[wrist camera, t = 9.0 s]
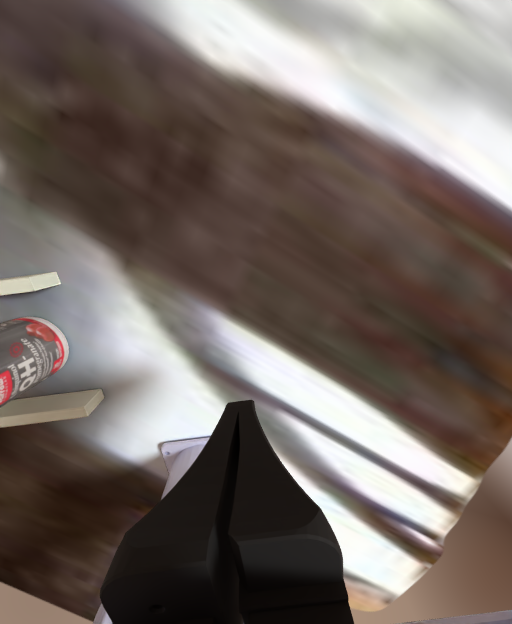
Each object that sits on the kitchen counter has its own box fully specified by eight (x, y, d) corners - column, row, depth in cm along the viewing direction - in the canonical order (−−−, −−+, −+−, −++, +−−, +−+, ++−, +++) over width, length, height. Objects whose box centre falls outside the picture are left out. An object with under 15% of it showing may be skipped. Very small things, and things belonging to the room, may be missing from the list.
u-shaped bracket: (104, 397, 23) (87, 416, 20) (-10, 411, 23) (-40, 432, 20) (56, 271, 19) (29, 277, 17) (-80, 289, 19) (-127, 297, 17)
